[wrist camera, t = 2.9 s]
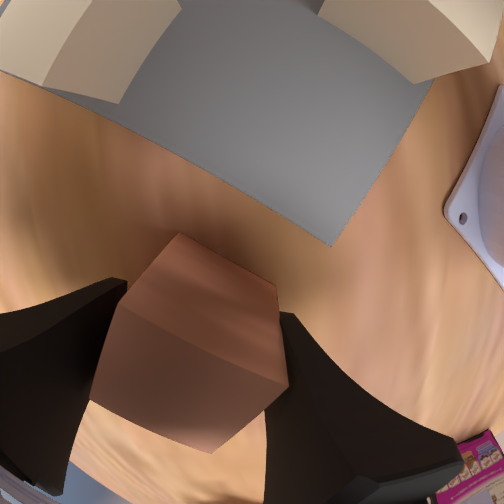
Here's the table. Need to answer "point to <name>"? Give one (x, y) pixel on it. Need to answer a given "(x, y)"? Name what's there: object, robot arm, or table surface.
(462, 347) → the table surface
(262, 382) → the terracotta block
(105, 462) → the table surface
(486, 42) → the puzzle board
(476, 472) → the candy bar box
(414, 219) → the table surface
